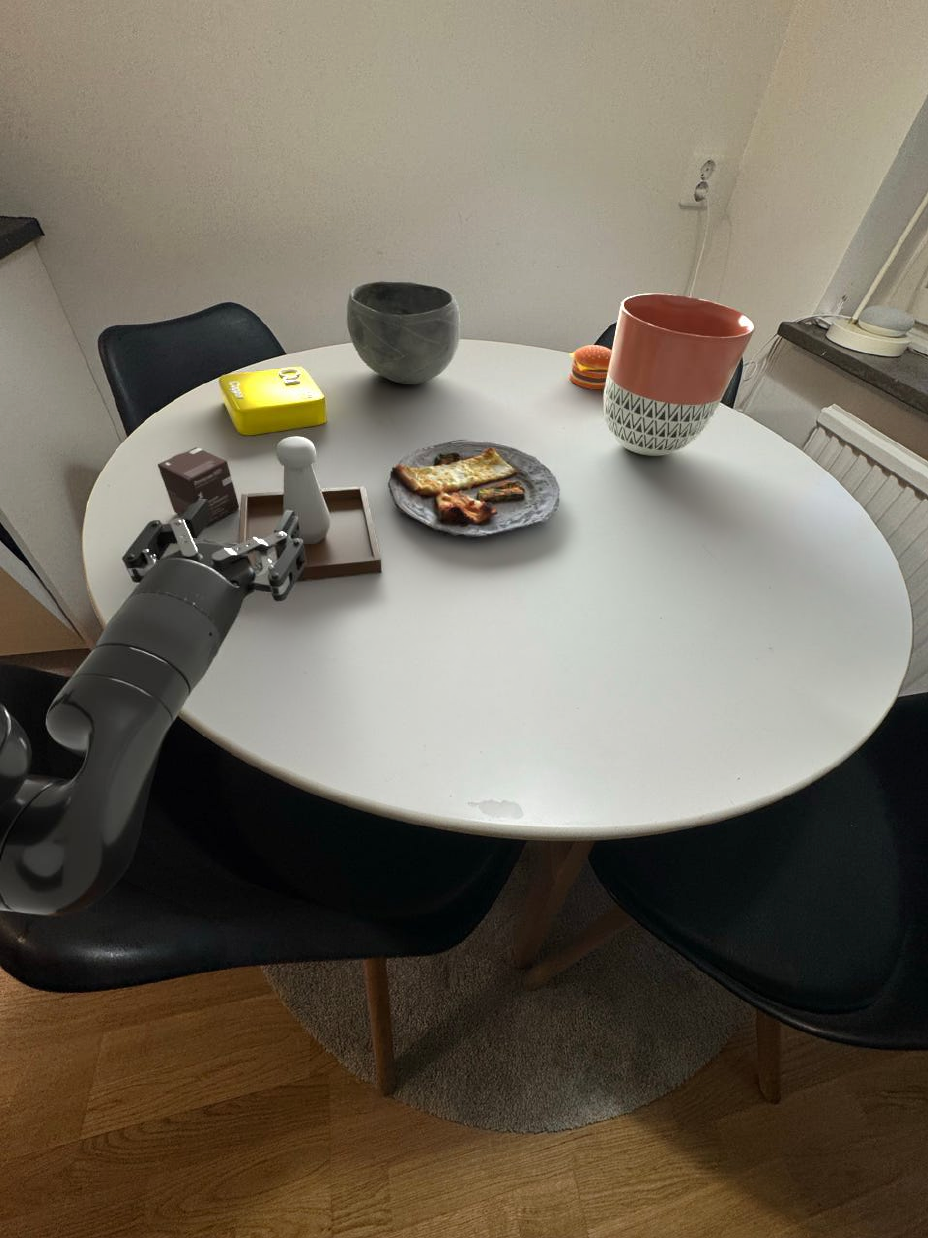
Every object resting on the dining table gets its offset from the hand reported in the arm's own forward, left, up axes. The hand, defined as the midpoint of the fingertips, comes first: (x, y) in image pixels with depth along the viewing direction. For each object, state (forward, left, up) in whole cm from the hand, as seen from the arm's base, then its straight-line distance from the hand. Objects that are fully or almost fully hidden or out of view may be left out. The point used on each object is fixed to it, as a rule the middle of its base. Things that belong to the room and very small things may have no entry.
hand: (249, 512), depth 54 cm
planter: (+63, +30, -13) cm, 71 cm away
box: (-8, +20, -13) cm, 25 cm away
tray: (+5, +12, -13) cm, 18 cm away
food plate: (+29, +19, -13) cm, 36 cm away
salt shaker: (+5, +12, -12) cm, 17 cm away
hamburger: (+65, +58, -13) cm, 88 cm away
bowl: (+26, +62, -13) cm, 68 cm away
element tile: (+1, +49, -13) cm, 50 cm away
